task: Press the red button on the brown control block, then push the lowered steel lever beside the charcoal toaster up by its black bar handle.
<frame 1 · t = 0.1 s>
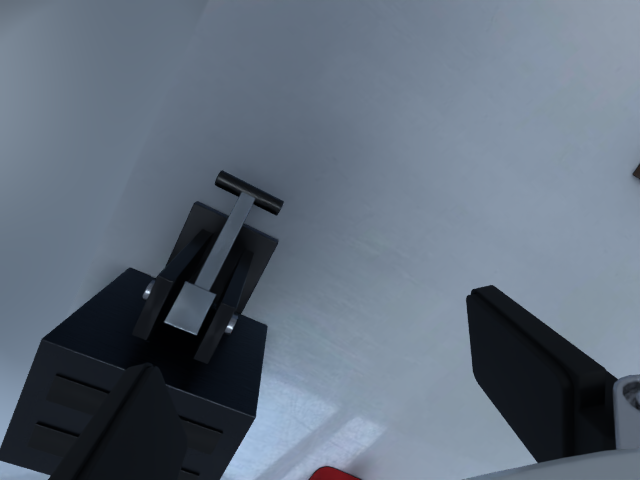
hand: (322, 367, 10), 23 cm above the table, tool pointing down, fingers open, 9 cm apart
toaster lever: (219, 252, 25), point 8 cm above the table, hinge at -30.0°
toaster: (181, 339, 35), on the table
lever bracket: (220, 258, 33), on the table
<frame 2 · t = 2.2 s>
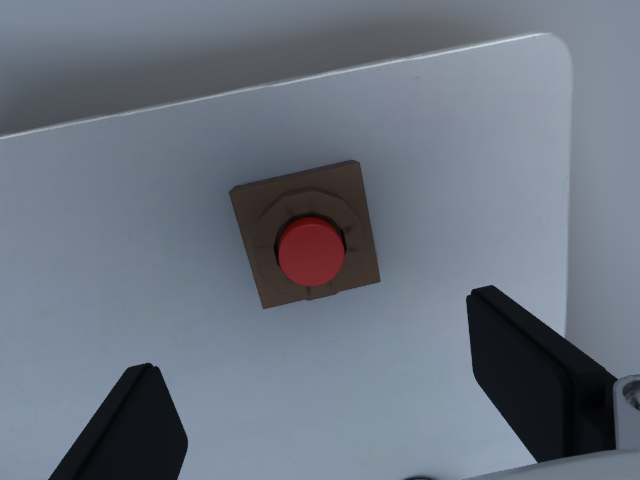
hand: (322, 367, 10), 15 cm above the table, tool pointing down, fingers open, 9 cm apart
button block: (307, 230, 24), on the table
red button: (310, 251, 20), point 5 cm above the table, slide at 0.2 cm
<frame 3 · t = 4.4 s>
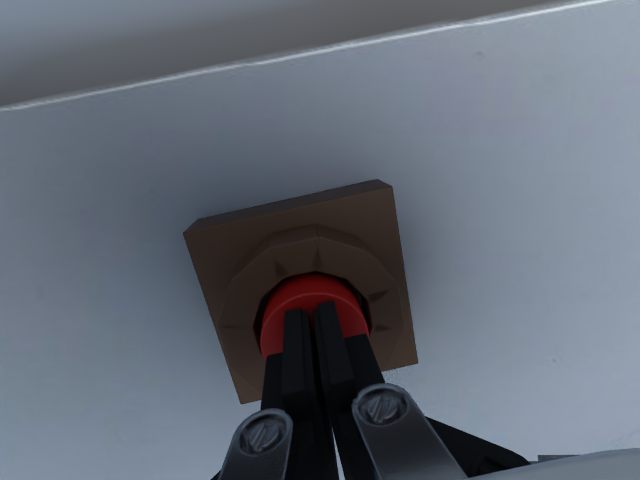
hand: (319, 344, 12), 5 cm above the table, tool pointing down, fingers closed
button block: (308, 282, 16), on the table
red button: (313, 328, 12), point 4 cm above the table, slide at -0.3 cm, touching gripper
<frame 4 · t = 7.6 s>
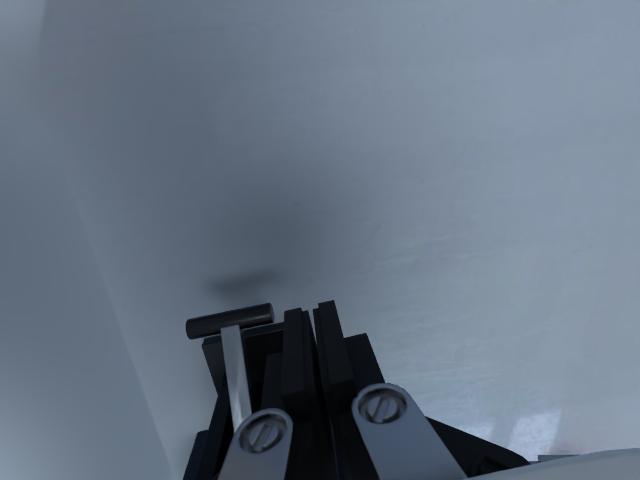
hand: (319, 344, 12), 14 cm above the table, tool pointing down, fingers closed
toaster lever: (243, 408, 20), point 8 cm above the table, hinge at -30.0°
toaster: (291, 459, 31), on the table
lever bracket: (267, 370, 29), on the table
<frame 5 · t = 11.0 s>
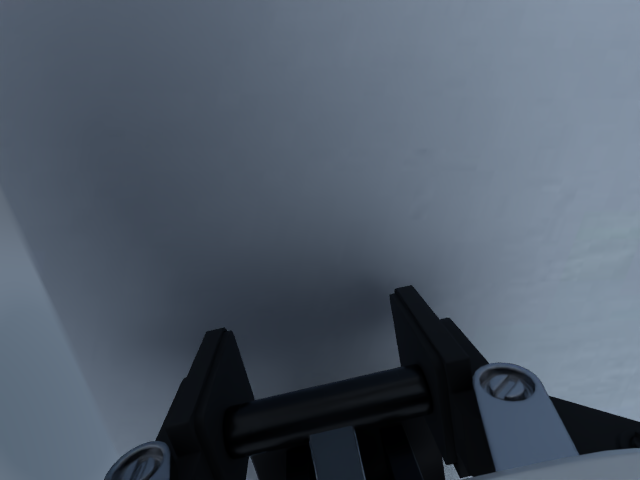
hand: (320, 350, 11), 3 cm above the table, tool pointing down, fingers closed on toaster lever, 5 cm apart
lever bracket: (349, 455, 16), on the table
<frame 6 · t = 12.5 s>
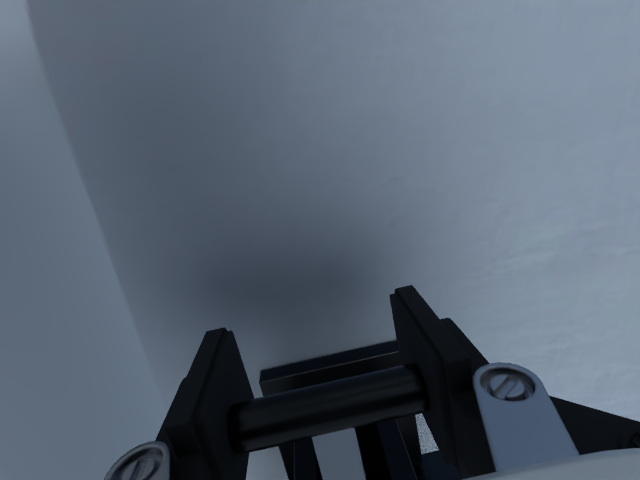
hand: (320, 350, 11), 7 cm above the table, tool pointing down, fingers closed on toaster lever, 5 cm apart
lever bracket: (343, 412, 21), on the table
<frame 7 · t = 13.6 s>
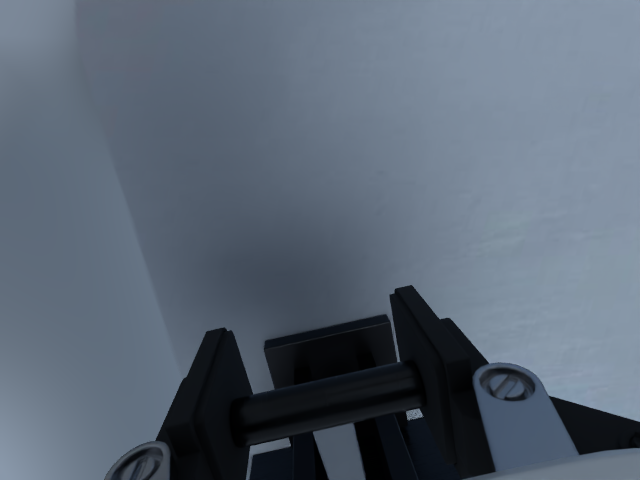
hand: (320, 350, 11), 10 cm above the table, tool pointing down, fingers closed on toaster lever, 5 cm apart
lever bracket: (337, 379, 24), on the table
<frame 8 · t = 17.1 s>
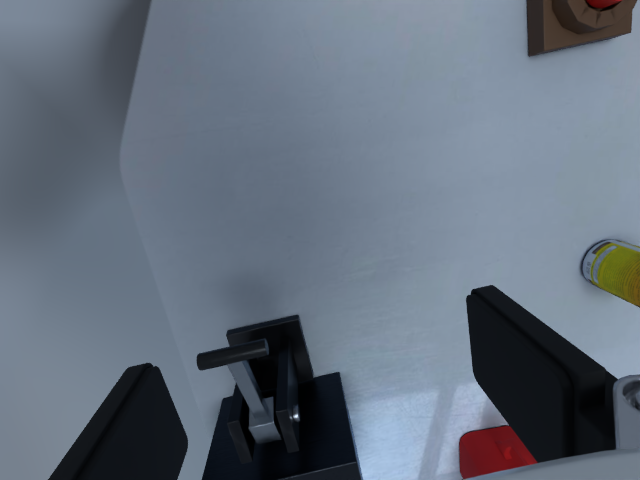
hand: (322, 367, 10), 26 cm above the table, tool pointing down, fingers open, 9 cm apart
toaster lever: (252, 393, 28), point 11 cm above the table, hinge at 16.5°
toaster: (290, 418, 43), on the table
supplement bottle: (601, 261, 40), on the table
lever bracket: (271, 352, 40), on the table
mug: (487, 439, 47), on the table
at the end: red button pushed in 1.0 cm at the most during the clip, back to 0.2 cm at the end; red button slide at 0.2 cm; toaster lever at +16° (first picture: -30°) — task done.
